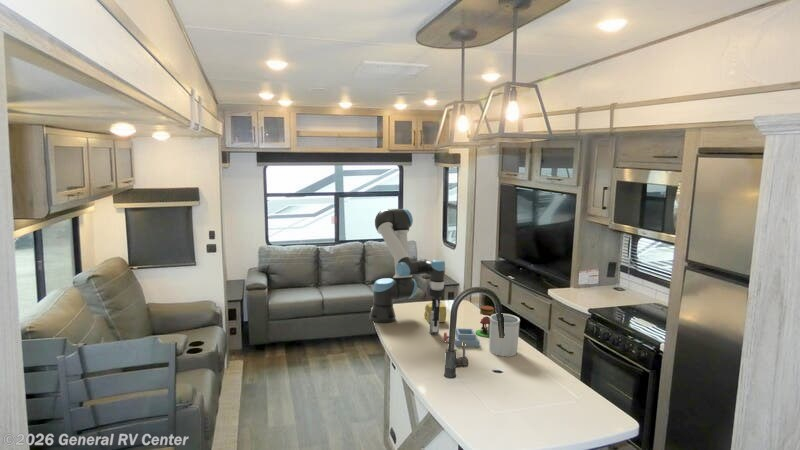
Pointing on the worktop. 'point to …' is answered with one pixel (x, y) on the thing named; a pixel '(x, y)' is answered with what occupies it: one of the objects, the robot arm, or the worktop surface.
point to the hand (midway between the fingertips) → (434, 329)
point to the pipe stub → (432, 323)
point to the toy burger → (485, 321)
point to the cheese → (441, 309)
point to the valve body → (464, 337)
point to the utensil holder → (510, 339)
